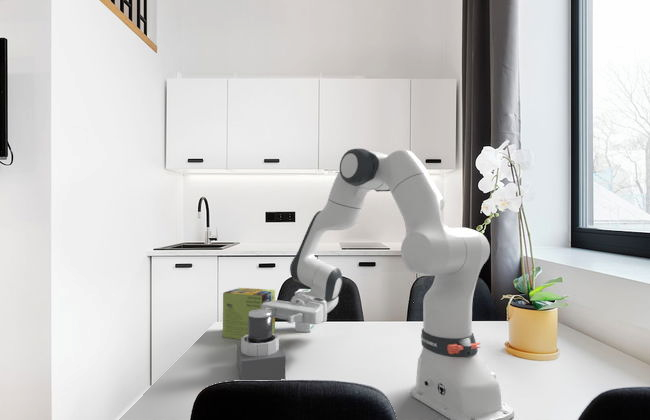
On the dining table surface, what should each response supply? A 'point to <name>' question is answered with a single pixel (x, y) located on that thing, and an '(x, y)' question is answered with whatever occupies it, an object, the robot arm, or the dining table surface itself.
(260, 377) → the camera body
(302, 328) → the syrup box
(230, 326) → the protein box
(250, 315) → the dark grey metallic cylinder
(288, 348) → the dining table surface
